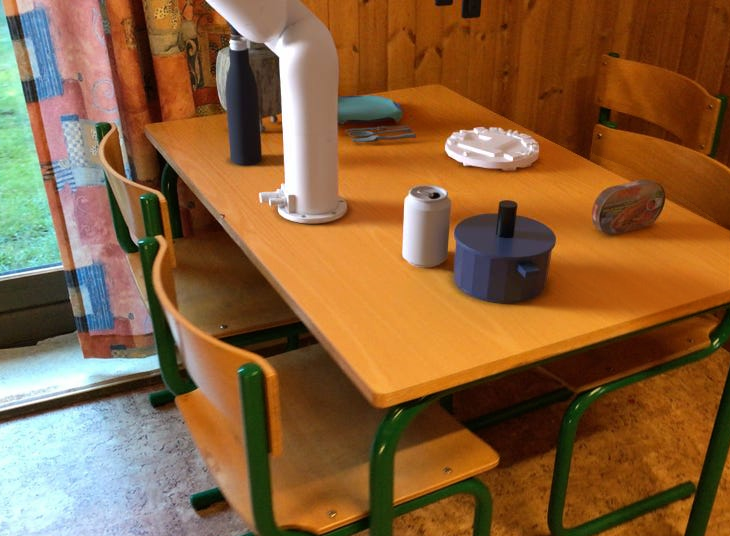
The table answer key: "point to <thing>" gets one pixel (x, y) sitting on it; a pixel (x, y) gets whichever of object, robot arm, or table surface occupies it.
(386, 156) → the table surface
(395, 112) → the cutlery set
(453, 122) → the table surface
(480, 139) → the embossed medallion
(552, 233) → the pot lid
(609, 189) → the tin
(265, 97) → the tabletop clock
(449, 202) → the can
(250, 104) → the dark blue bottle
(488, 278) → the pot
